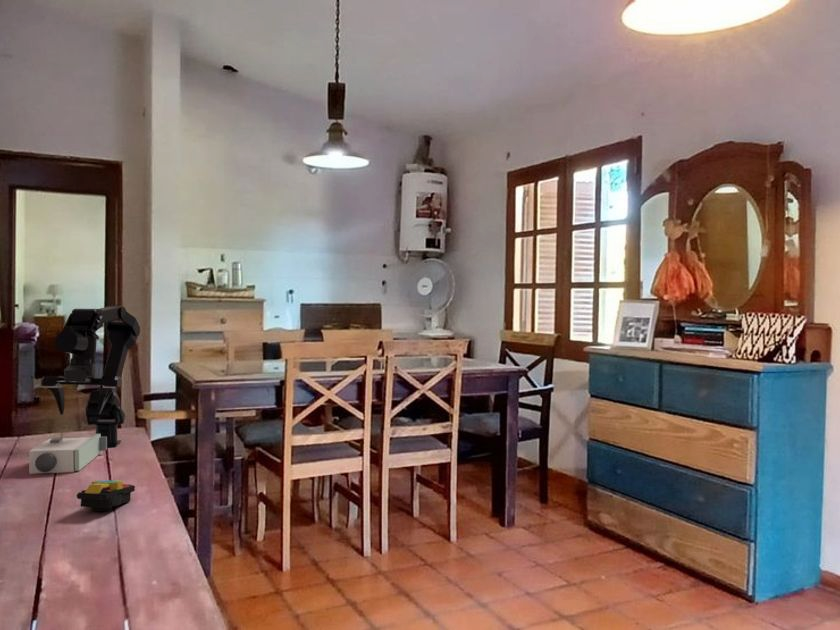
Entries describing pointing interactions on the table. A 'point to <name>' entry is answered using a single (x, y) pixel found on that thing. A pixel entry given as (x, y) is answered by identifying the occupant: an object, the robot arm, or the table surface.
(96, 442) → the side door
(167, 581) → the table surface
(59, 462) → the camera case
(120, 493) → the gadget
